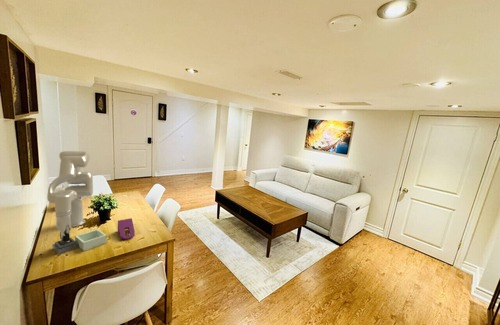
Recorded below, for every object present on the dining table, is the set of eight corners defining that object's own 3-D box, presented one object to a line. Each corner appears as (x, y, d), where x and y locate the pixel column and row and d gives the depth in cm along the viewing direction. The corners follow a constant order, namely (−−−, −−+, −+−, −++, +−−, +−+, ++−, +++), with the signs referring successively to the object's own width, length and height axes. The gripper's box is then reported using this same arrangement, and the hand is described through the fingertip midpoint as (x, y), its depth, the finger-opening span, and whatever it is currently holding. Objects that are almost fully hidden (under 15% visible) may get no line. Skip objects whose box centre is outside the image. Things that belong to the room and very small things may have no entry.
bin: (75, 244, 138) (75, 236, 137) (97, 236, 149) (97, 229, 149) (83, 251, 132) (83, 242, 131) (106, 242, 143) (106, 234, 142)
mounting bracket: (134, 243, 155) (131, 225, 167) (135, 236, 151) (131, 218, 163) (120, 246, 149) (117, 227, 161) (120, 239, 145) (117, 220, 157)
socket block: (52, 248, 132) (52, 242, 131) (72, 242, 140) (71, 236, 139) (58, 254, 126) (57, 247, 126) (78, 247, 135) (77, 241, 134)
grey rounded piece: (59, 244, 132) (58, 225, 130) (68, 241, 136) (67, 222, 134) (61, 246, 130) (60, 227, 128) (71, 243, 134) (70, 225, 132)
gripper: (51, 211, 131) (52, 237, 133) (60, 218, 122) (62, 246, 125) (66, 207, 137) (67, 233, 140) (76, 214, 129) (77, 241, 131)
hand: (65, 239), depth 132 cm, fingers closed on grey rounded piece, 3 cm apart
